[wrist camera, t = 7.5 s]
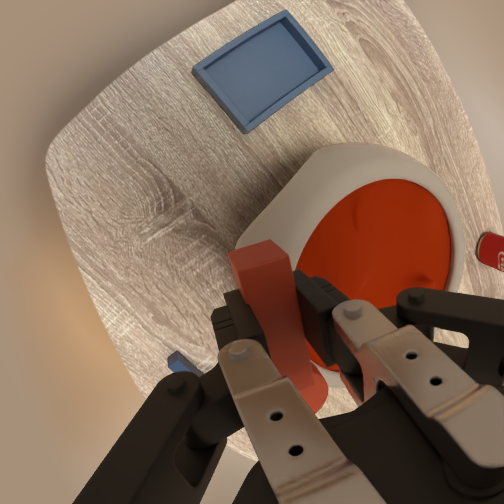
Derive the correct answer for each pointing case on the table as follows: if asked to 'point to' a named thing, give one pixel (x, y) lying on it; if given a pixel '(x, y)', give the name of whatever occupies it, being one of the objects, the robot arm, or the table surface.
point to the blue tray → (262, 70)
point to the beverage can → (492, 250)
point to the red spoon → (278, 314)
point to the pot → (365, 227)
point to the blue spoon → (181, 364)
